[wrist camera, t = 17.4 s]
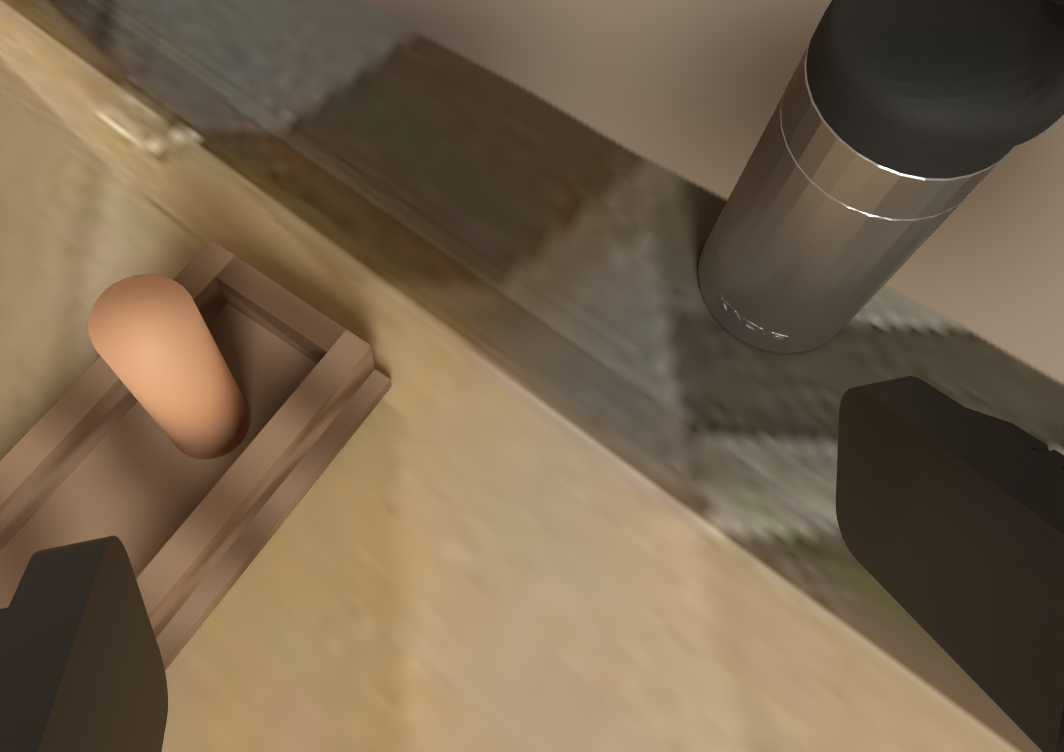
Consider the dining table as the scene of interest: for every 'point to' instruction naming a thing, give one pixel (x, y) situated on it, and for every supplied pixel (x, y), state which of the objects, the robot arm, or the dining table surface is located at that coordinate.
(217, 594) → the slot board
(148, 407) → the orange rounded cylinder
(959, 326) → the dining table surface
